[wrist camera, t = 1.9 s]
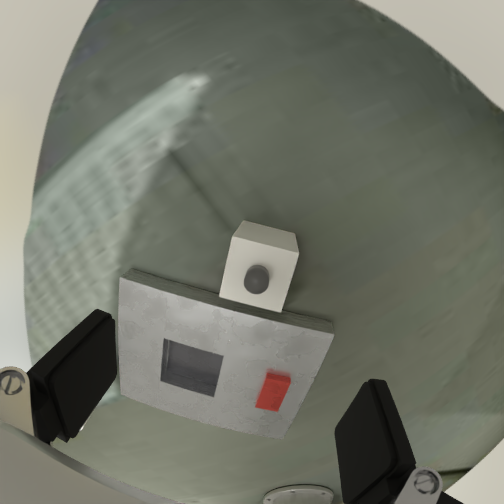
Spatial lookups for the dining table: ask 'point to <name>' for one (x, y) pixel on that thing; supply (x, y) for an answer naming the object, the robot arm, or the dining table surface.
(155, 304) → the socket plate
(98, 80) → the dining table surface
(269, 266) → the plug
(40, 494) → the robot arm
